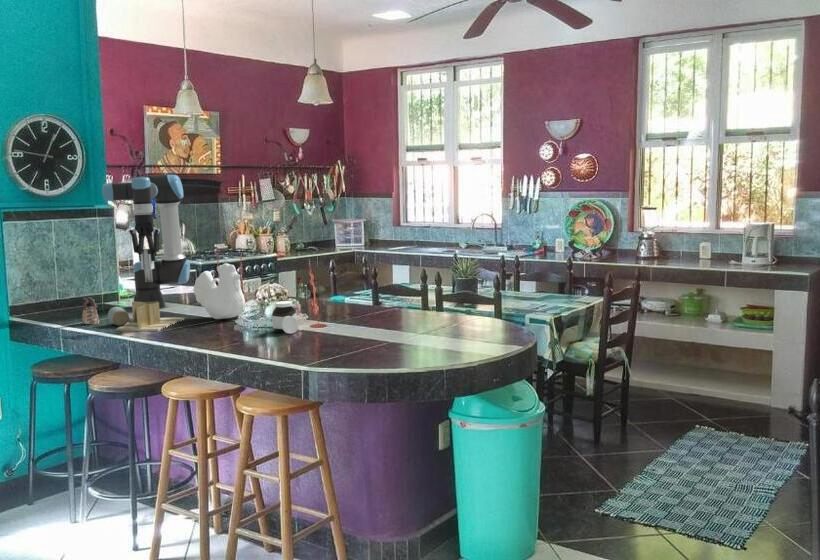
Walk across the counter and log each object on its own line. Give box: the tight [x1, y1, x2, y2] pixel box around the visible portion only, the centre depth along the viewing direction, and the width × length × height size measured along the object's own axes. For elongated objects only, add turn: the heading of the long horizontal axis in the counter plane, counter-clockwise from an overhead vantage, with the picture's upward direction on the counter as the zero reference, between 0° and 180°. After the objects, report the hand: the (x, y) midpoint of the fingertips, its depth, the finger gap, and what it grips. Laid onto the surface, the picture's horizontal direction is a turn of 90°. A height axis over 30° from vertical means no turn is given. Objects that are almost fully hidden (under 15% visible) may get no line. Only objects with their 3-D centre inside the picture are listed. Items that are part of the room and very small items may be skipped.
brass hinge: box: [131, 300, 161, 329], centre depth 332 cm, size 15×14×9 cm
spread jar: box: [271, 300, 299, 335], centre depth 312 cm, size 12×11×12 cm
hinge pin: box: [143, 248, 153, 282], centre depth 332 cm, size 3×3×14 cm
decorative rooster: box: [192, 263, 246, 320], centre depth 347 cm, size 25×16×25 cm, turn 55°
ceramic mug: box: [107, 306, 134, 327], centre depth 340 cm, size 11×8×8 cm
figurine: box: [81, 296, 101, 326], centre depth 345 cm, size 7×7×12 cm
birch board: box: [115, 317, 185, 332], centre depth 336 cm, size 24×19×1 cm
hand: (148, 268), depth 332 cm, fingers closed on hinge pin, 3 cm apart
